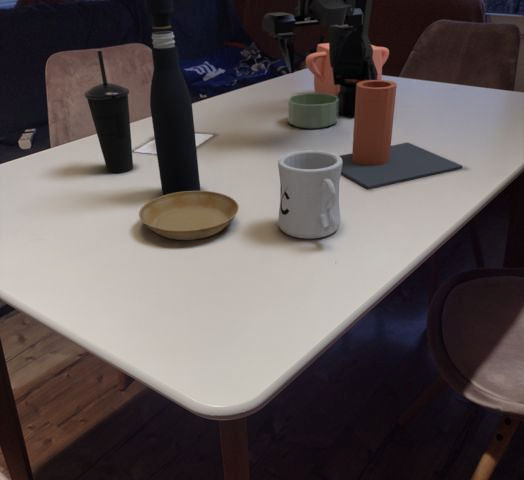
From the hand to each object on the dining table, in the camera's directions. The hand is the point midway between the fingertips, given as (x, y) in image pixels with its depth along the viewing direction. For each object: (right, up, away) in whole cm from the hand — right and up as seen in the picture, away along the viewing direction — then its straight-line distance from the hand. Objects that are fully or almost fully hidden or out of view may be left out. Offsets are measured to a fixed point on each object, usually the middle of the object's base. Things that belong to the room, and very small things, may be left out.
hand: (312, 70), depth 114 cm
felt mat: (+13, -21, -7) cm, 26 cm away
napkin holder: (-28, -12, +8) cm, 31 cm away
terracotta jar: (+10, -19, -6) cm, 23 cm away
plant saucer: (-21, -36, -26) cm, 49 cm away
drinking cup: (-37, -21, -4) cm, 42 cm away
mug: (-2, -38, -29) cm, 48 cm away
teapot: (+12, +8, +33) cm, 36 cm away
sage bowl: (+2, -4, +17) cm, 17 cm away
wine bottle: (-23, -28, -15) cm, 40 cm away
